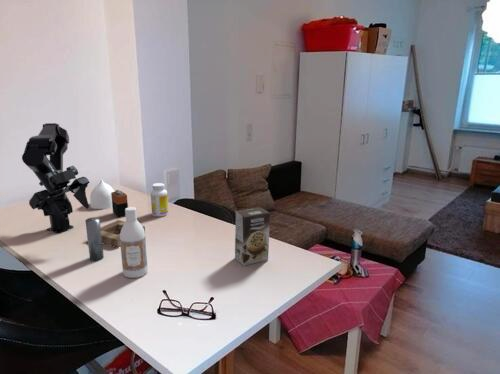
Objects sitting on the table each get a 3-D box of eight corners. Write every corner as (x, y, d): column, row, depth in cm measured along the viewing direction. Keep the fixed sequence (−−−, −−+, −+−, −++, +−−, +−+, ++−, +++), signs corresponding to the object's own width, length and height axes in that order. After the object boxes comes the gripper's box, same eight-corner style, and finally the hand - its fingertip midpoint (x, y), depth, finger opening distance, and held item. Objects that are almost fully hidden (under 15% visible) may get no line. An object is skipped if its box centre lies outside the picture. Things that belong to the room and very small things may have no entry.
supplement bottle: (170, 211, 159) (169, 182, 155) (165, 217, 153) (164, 187, 149) (155, 211, 160) (153, 181, 156) (149, 216, 153) (147, 186, 150)
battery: (118, 217, 152) (116, 194, 149) (112, 213, 157) (110, 190, 154) (129, 215, 154) (127, 192, 151) (122, 210, 159) (121, 188, 156)
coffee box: (243, 266, 115) (244, 217, 110) (234, 257, 120) (234, 210, 116) (269, 260, 119) (270, 212, 114) (259, 252, 124) (260, 206, 120)
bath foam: (122, 280, 106) (116, 213, 101) (124, 268, 113) (118, 205, 107) (147, 277, 108) (142, 212, 102) (148, 266, 114) (143, 203, 109)
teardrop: (98, 200, 172) (96, 174, 169) (121, 201, 171) (119, 176, 167) (85, 208, 162) (82, 181, 158) (109, 210, 160) (106, 182, 157)
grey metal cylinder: (87, 259, 118) (82, 220, 114) (97, 254, 121) (93, 216, 117) (96, 262, 116) (91, 223, 112) (106, 257, 119) (102, 218, 116)
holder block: (90, 240, 131) (89, 232, 130) (118, 227, 142) (118, 219, 141) (118, 248, 126) (117, 239, 125) (145, 234, 137) (144, 226, 136)
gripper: (29, 167, 107) (61, 211, 107) (82, 152, 123) (110, 190, 123) (15, 187, 113) (46, 229, 113) (68, 171, 129) (95, 207, 128)
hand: (76, 213), depth 119 cm, fingers open, 9 cm apart
